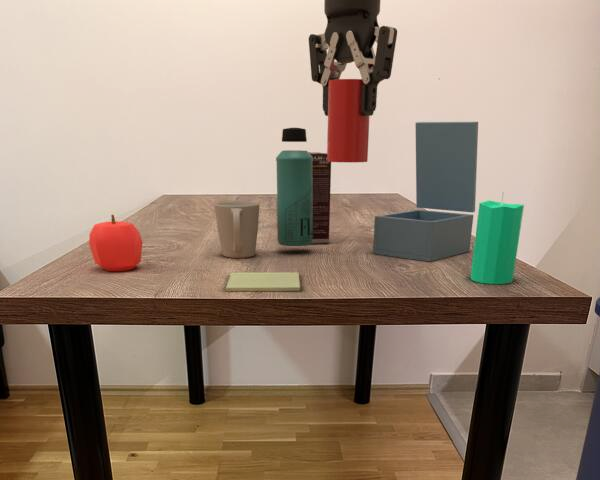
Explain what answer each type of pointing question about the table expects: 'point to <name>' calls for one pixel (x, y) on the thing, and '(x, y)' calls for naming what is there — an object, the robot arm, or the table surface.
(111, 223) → the apple
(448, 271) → the table surface
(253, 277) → the mat
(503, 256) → the candle
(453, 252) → the chest
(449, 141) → the lid
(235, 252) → the cup
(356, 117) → the red cylinder
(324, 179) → the supplement box
